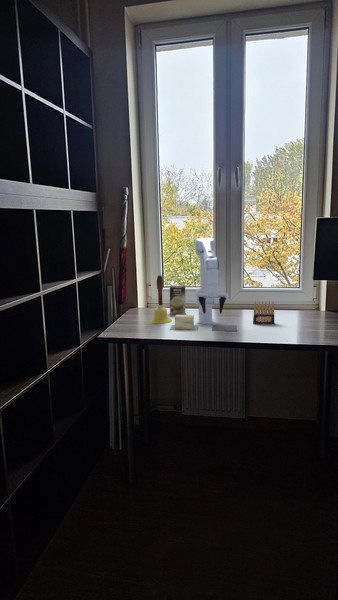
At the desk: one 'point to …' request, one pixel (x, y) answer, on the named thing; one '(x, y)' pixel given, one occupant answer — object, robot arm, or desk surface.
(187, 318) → the maple block
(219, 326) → the rubber mat
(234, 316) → the desk surface
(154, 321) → the handbell
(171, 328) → the blue-grey flat slab
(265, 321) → the ammunition clip
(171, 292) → the coffee box
